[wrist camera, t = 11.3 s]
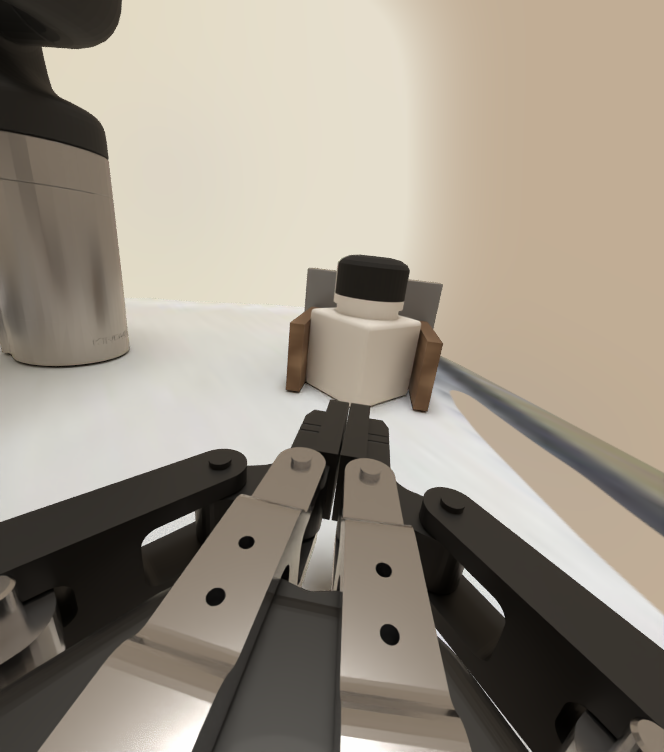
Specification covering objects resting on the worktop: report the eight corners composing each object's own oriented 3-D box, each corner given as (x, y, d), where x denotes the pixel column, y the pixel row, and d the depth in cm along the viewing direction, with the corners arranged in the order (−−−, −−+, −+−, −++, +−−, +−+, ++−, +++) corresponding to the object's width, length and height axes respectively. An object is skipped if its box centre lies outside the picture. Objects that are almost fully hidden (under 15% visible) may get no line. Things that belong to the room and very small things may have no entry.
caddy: (285, 389, 30) (290, 322, 27) (307, 359, 38) (311, 306, 36) (427, 411, 28) (443, 343, 26) (416, 375, 37) (427, 321, 35)
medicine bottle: (408, 395, 32) (435, 263, 28) (356, 412, 27) (379, 257, 23) (355, 371, 37) (372, 255, 32) (303, 382, 32) (314, 249, 28)
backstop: (300, 358, 39) (307, 268, 35) (304, 353, 40) (311, 267, 37) (422, 376, 37) (442, 284, 34) (420, 370, 39) (439, 283, 36)
